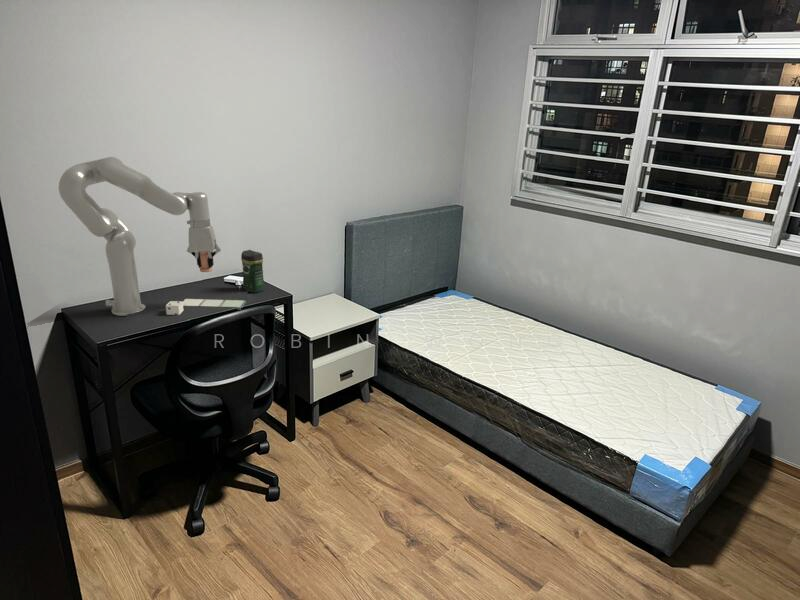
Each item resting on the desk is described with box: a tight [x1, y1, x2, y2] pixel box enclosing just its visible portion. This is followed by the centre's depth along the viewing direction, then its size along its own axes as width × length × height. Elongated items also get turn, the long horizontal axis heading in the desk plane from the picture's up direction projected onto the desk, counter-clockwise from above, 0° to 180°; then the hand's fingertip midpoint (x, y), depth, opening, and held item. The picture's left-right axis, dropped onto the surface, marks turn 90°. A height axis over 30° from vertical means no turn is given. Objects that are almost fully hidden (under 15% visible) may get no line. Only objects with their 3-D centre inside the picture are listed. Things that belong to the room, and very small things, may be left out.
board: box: [183, 298, 247, 311], centre depth 238 cm, size 26×9×1 cm, turn 91°
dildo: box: [199, 252, 213, 273], centre depth 231 cm, size 5×5×11 cm
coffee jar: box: [241, 249, 265, 294], centre depth 255 cm, size 10×8×19 cm
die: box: [165, 300, 185, 316], centre depth 226 cm, size 5×5×5 cm
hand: (205, 266), depth 233 cm, fingers closed on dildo, 3 cm apart
